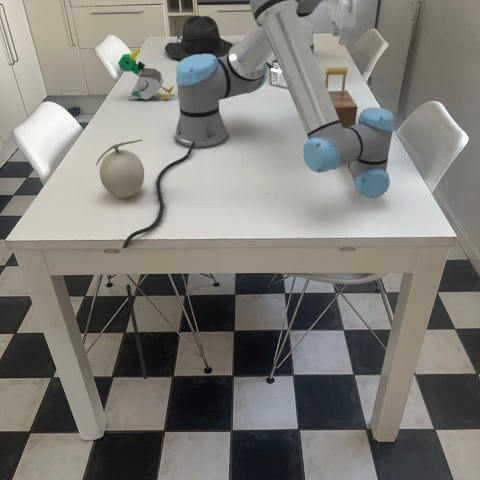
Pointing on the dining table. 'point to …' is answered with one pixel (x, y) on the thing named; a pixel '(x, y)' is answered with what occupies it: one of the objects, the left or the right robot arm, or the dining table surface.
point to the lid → (340, 98)
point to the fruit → (121, 171)
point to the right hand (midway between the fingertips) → (338, 40)
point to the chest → (347, 118)
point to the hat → (199, 39)
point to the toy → (143, 77)
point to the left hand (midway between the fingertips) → (341, 124)
